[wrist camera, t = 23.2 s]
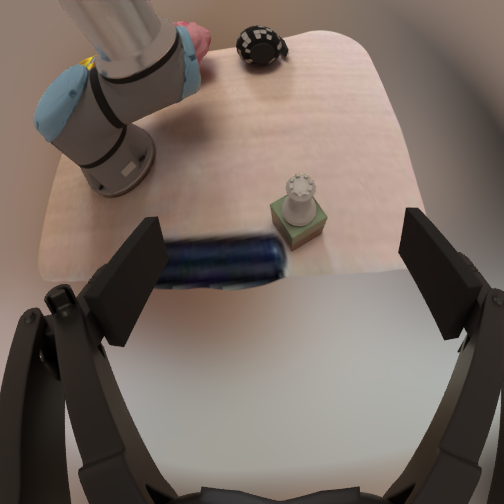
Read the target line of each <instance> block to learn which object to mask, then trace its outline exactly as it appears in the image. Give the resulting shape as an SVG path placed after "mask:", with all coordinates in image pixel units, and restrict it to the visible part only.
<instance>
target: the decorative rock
mask: <svg viewBox="0 0 504 504" xmlns="http://www.w3.org/2000/svg"><path fill="white" fill-rule="evenodd" d="M172 23H173V24H174V26H184V27H185V28H186V29H187V31H188V33H189V35H190V37H191V40H192V42H193V45H194V49H195V54H196V58H197V60H198V64H199V68H200V65H201V61H202V59H203V57H204V56H205V55H206V54H207V52H208V50H209V45H210V42H211V36H210V31H209V30H208V29H204V28H202V27H201V26H198V25H197V24H196V23H195V22H191V23H187V22H183V21H181V22H176V23H174V22H172Z"/></svg>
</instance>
